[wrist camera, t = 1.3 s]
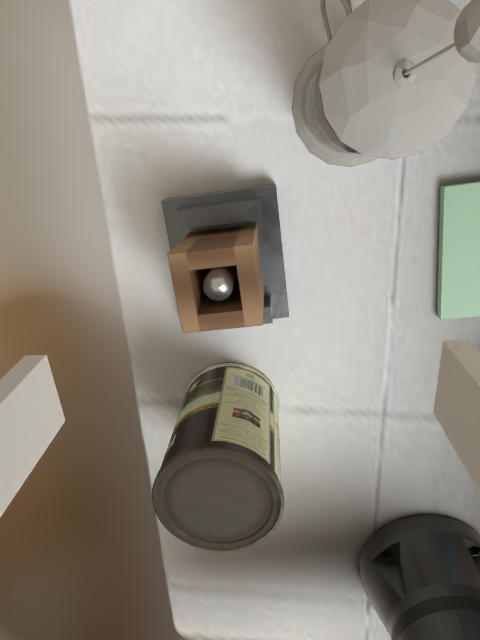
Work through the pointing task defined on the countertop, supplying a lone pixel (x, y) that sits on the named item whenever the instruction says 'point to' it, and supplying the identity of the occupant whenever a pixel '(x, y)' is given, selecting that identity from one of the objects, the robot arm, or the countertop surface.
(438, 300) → the board
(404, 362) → the countertop surface
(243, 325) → the sleeve
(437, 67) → the french press
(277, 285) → the peg stand
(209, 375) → the coffee can
